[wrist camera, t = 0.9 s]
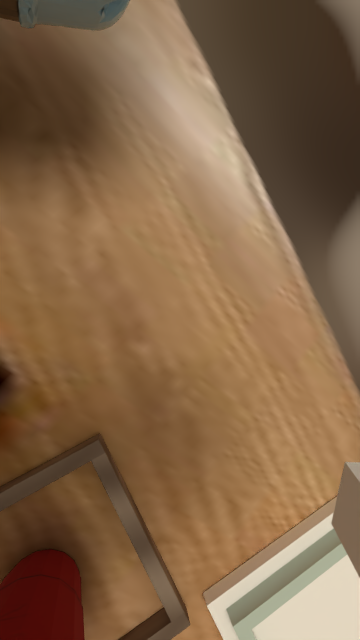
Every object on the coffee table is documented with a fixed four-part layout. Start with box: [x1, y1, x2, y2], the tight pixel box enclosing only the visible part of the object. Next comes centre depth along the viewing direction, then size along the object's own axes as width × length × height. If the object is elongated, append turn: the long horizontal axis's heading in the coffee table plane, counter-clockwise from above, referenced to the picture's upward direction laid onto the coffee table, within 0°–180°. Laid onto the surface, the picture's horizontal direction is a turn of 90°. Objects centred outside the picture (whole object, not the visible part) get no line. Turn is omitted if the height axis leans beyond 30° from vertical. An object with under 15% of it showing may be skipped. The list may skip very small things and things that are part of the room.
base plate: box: [203, 496, 360, 640], centre depth 26 cm, size 19×19×3 cm
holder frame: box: [0, 433, 190, 640], centre depth 22 cm, size 17×17×2 cm
